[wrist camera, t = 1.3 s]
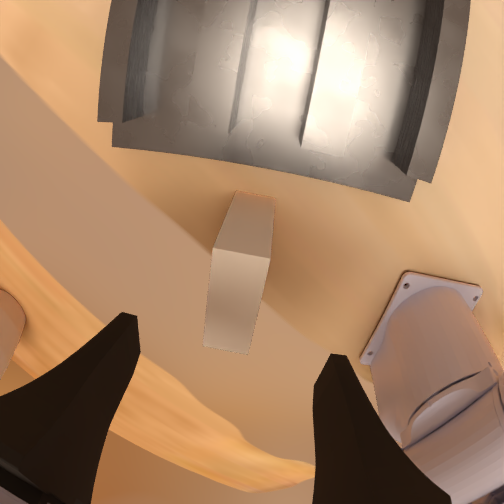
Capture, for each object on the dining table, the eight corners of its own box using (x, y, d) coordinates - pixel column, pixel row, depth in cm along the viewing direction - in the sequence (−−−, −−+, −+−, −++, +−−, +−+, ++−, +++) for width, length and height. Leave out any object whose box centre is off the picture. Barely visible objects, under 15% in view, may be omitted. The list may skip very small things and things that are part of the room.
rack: (404, 196, 18) (424, 220, 15) (119, 143, 18) (90, 157, 15) (451, -31, 10) (478, -44, 7) (157, -83, 10) (136, -105, 7)
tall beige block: (258, 278, 22) (248, 354, 16) (224, 272, 22) (202, 345, 16) (275, 197, 19) (270, 258, 13) (236, 190, 19) (212, 247, 13)
